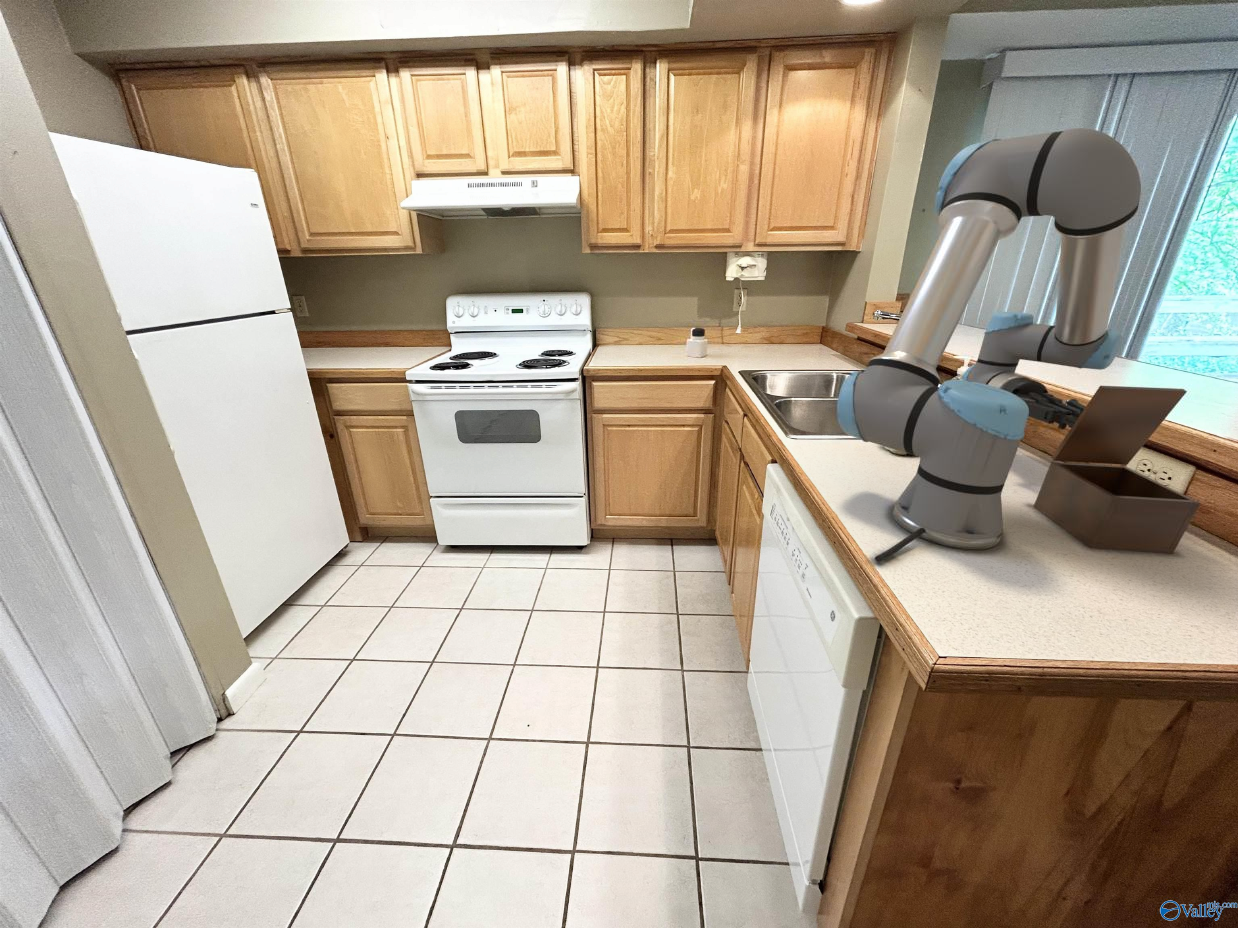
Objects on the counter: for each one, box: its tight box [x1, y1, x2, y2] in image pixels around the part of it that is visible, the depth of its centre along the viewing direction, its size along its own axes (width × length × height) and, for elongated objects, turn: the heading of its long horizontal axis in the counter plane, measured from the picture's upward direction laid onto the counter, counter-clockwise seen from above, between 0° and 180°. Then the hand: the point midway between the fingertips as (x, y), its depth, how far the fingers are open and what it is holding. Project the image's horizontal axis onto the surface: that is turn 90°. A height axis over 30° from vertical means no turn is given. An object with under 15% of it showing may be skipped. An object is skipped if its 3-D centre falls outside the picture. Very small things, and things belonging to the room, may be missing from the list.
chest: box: [1033, 461, 1202, 554], centre depth 80 cm, size 14×12×9 cm
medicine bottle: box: [685, 327, 709, 359], centre depth 214 cm, size 7×7×12 cm
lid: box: [1050, 385, 1188, 466], centre depth 79 cm, size 14×12×1 cm
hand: (1104, 431), depth 81 cm, fingers closed
